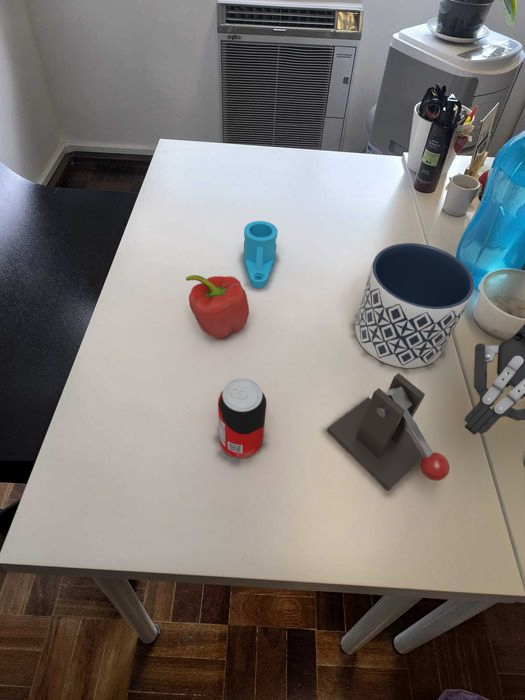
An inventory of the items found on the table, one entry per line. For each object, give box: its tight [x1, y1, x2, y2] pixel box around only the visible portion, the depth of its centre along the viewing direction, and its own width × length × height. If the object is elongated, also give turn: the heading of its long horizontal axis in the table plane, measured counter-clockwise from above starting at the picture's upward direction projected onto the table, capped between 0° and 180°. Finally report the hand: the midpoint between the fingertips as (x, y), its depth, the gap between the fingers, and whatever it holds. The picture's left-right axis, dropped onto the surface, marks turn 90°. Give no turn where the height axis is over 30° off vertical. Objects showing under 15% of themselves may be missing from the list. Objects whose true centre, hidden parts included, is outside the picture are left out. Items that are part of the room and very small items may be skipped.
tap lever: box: [384, 387, 451, 482], centre depth 61 cm, size 13×4×4 cm
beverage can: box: [217, 377, 267, 459], centre depth 64 cm, size 6×6×12 cm
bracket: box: [242, 220, 278, 289], centre depth 92 cm, size 6×12×7 cm, turn 179°
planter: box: [354, 242, 475, 369], centre depth 79 cm, size 16×16×14 cm
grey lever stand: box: [326, 372, 426, 492], centre depth 65 cm, size 12×9×13 cm
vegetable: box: [185, 274, 250, 339], centre depth 80 cm, size 11×10×10 cm
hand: (470, 430), depth 59 cm, fingers closed
